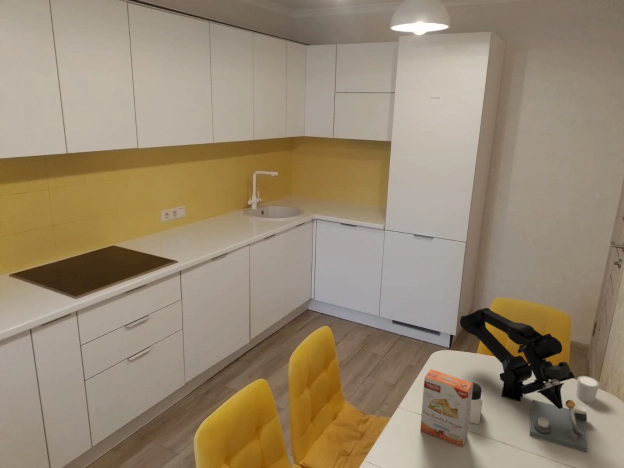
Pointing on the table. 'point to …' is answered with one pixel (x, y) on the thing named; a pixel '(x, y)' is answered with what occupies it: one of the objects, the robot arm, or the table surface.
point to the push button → (543, 422)
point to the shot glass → (586, 388)
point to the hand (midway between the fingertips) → (561, 408)
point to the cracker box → (446, 407)
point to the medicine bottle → (476, 404)
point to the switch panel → (558, 426)
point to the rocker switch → (579, 410)
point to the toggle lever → (572, 414)
